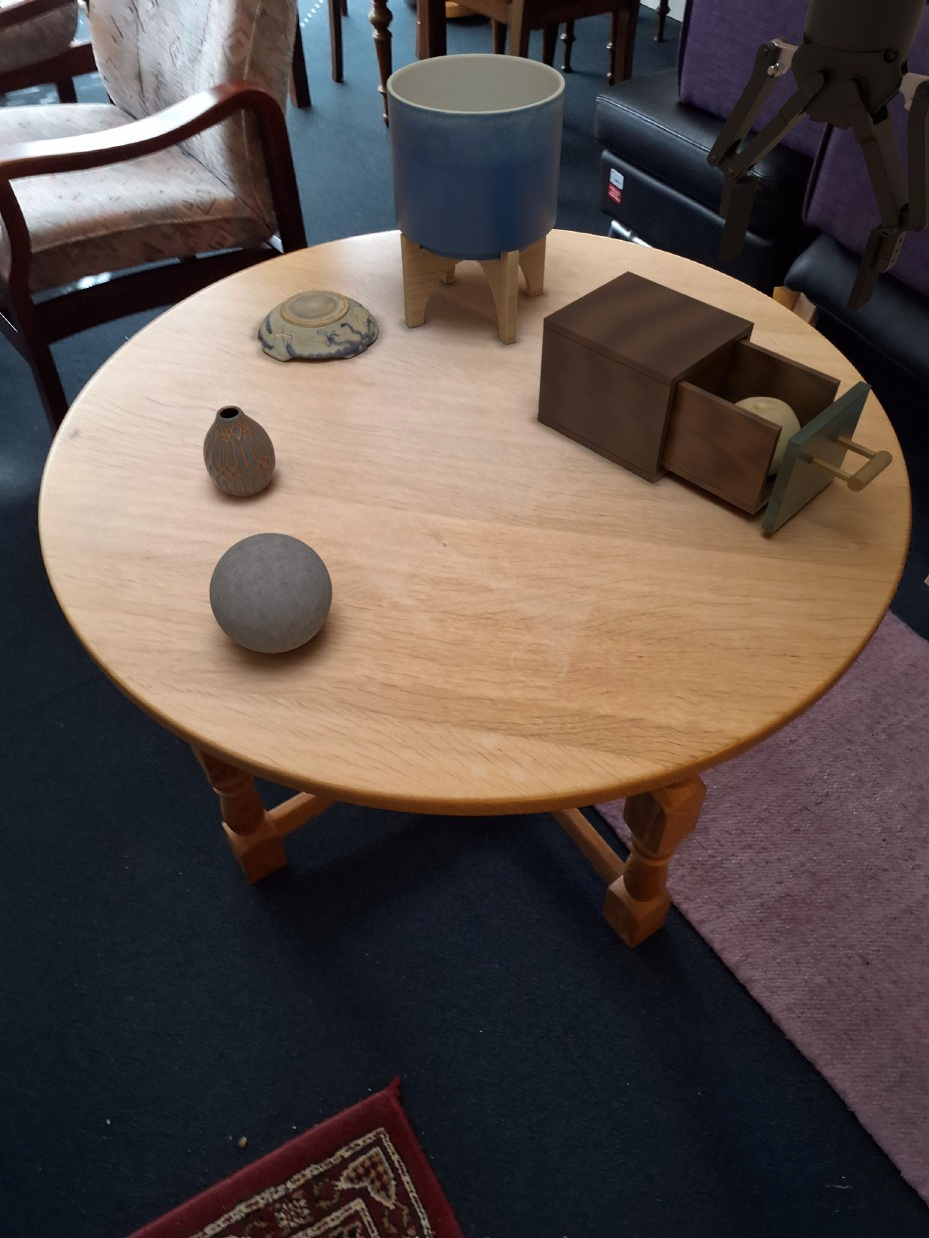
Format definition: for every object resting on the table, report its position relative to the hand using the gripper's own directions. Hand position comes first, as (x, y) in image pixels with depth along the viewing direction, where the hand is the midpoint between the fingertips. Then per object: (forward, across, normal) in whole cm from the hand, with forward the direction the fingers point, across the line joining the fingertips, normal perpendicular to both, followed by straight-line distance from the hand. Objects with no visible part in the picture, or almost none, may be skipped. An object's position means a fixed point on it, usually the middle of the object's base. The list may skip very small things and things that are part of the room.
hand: (791, 280), depth 76 cm
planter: (+21, -44, +6) cm, 49 cm away
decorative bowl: (+21, -54, -12) cm, 59 cm away
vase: (+21, -36, -36) cm, 55 cm away
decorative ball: (+21, -16, -46) cm, 53 cm away
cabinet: (+21, -14, 0) cm, 25 cm away
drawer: (+20, +3, 0) cm, 20 cm away
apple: (+19, +1, 0) cm, 19 cm away
